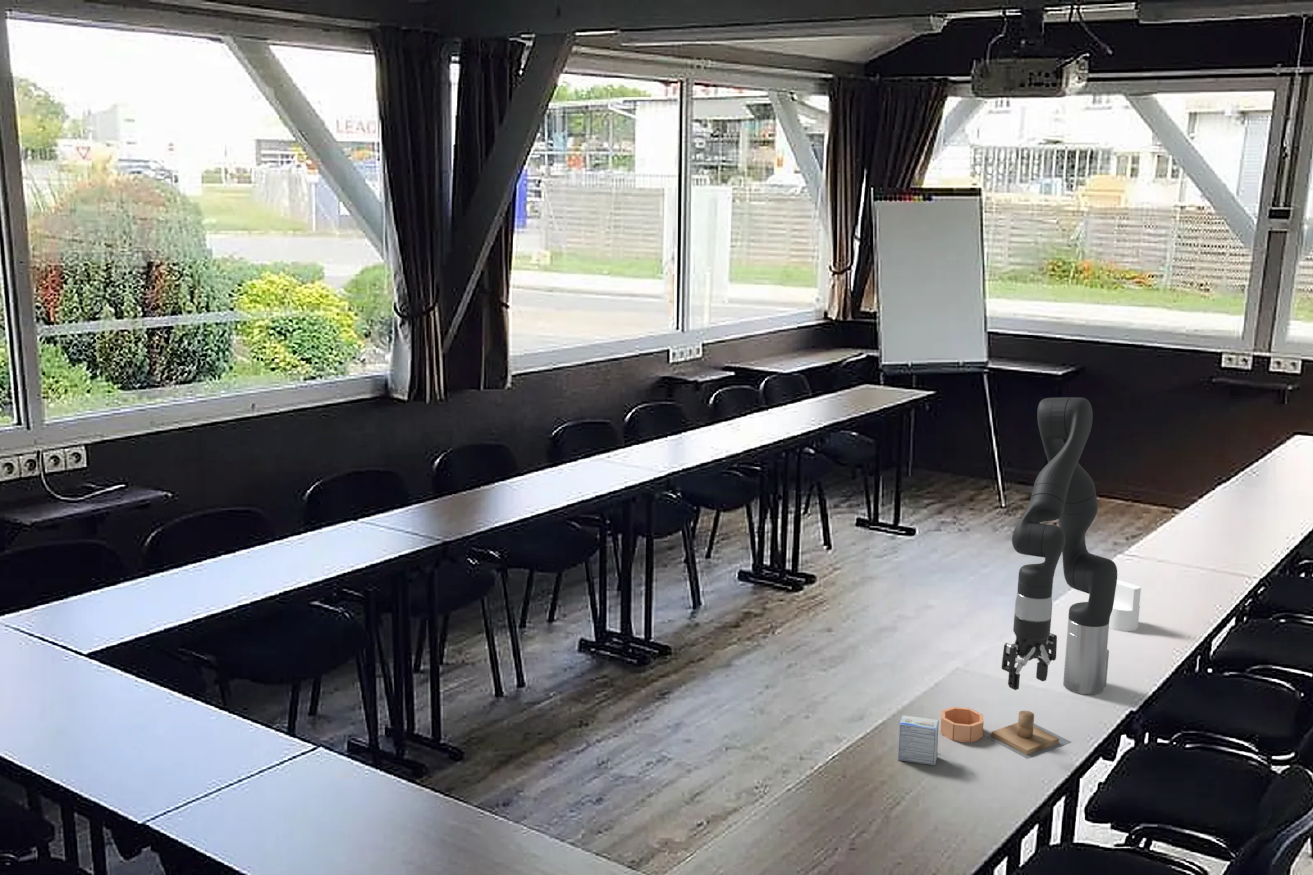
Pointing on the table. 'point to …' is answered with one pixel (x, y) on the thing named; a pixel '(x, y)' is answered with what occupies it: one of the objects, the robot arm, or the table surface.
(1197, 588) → the table surface
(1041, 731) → the lid
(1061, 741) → the mat
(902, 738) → the medicine box
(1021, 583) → the robot arm
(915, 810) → the table surface
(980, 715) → the bowl
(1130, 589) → the cylinder with rectangular tab
